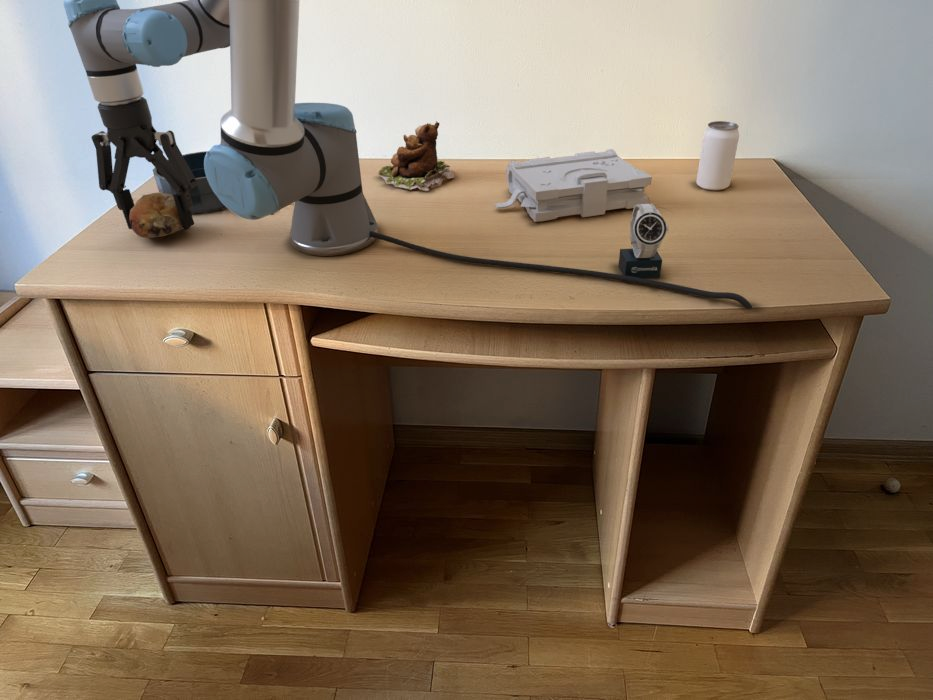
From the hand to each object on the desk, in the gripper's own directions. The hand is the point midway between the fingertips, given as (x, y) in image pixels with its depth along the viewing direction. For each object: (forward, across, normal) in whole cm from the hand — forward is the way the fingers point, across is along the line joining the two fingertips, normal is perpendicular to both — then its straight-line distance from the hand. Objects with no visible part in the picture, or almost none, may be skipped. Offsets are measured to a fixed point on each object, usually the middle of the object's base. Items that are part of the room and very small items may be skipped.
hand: (161, 226), depth 122 cm
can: (+4, -102, -32) cm, 107 cm away
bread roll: (0, 0, 0) cm, 0 cm away
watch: (+4, -85, +7) cm, 85 cm away
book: (+3, -72, -22) cm, 75 cm away
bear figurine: (+3, -41, -32) cm, 52 cm away
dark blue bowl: (+2, +1, -19) cm, 19 cm away
